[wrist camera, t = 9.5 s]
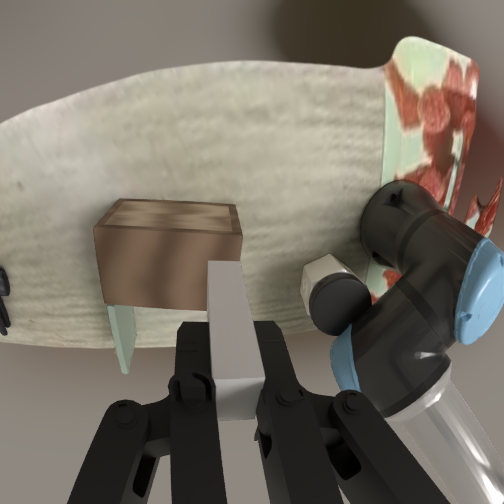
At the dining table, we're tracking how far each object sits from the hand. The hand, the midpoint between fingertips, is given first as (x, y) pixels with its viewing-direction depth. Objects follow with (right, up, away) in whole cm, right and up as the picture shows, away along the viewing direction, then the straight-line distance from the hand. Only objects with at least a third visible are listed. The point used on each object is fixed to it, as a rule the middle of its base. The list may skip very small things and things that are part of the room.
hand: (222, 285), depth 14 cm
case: (-9, +4, +25) cm, 27 cm away
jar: (+13, -3, +32) cm, 35 cm away
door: (-19, -7, +29) cm, 35 cm away
